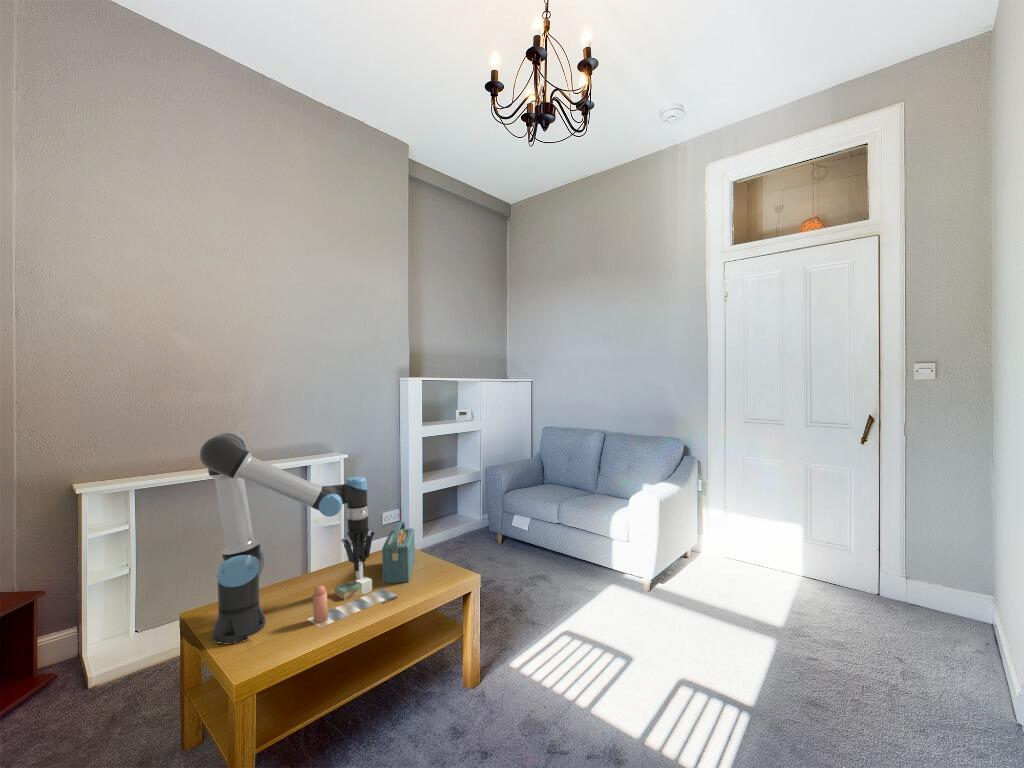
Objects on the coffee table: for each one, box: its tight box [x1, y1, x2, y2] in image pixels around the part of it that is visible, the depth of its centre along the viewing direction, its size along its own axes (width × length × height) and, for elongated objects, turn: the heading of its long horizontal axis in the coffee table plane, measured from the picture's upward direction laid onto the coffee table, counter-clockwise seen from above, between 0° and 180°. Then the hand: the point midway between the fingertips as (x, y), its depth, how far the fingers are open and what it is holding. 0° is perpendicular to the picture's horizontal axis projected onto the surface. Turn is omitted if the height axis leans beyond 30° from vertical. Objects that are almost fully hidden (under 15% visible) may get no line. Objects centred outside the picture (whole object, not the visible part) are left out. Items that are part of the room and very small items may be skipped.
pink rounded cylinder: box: [312, 585, 328, 624], centre depth 158 cm, size 4×4×12 cm
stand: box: [334, 581, 362, 601], centre depth 177 cm, size 7×7×4 cm
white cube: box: [354, 576, 373, 595], centre depth 182 cm, size 4×4×4 cm
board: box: [307, 588, 398, 628], centre depth 167 cm, size 30×9×1 cm, turn 139°
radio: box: [381, 521, 416, 585], centre depth 201 cm, size 26×11×20 cm, turn 6°
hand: (359, 578), depth 181 cm, fingers closed
